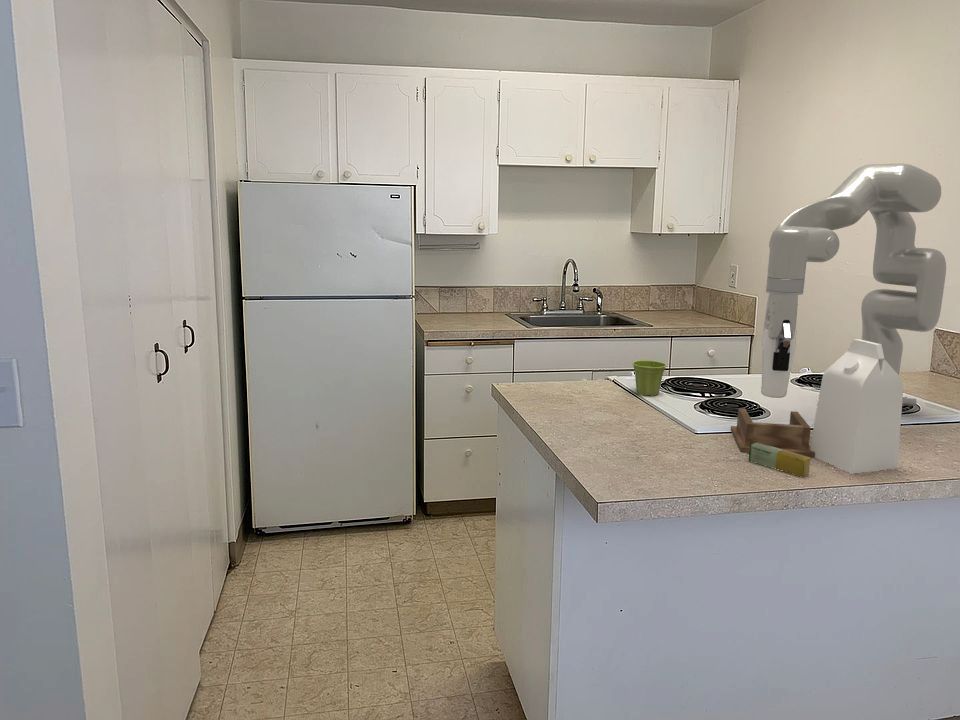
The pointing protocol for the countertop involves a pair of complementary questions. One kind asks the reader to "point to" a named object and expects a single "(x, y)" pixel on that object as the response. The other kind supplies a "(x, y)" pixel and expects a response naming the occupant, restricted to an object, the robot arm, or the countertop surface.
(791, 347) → the drinking glass
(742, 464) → the countertop surface
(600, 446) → the countertop surface
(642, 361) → the plant pot
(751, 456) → the medication box
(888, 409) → the milk
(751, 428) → the wooden open tray
